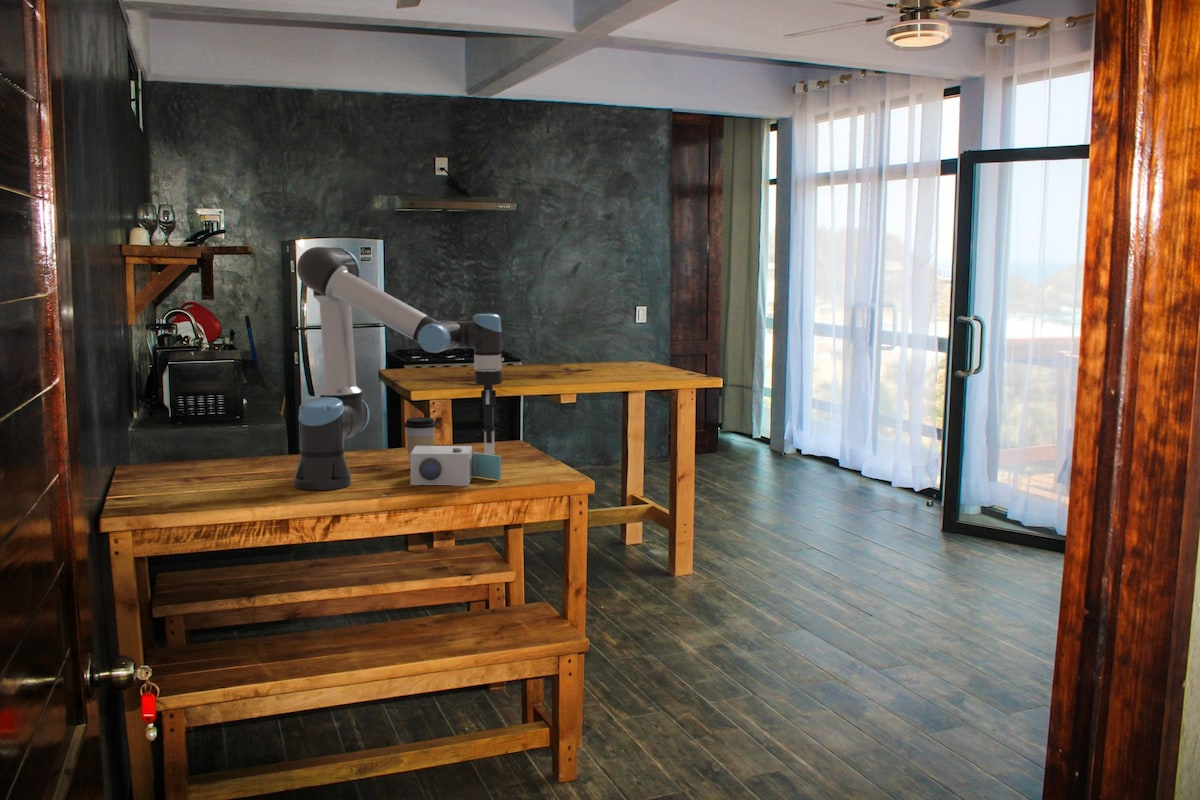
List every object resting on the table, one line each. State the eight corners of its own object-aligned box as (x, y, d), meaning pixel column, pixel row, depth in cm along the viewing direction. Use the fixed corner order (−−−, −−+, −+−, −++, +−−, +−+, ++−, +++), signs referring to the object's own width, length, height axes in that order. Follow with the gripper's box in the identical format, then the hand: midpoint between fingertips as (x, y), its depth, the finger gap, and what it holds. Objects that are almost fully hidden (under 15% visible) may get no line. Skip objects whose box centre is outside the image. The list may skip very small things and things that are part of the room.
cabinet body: (409, 486, 270) (409, 451, 268) (415, 476, 283) (415, 443, 281) (469, 487, 271) (469, 451, 269) (472, 476, 284) (472, 443, 282)
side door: (471, 476, 283) (471, 452, 282) (475, 475, 284) (475, 451, 283) (498, 481, 278) (498, 456, 277) (502, 479, 279) (502, 454, 278)
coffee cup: (429, 472, 288) (429, 422, 286) (399, 471, 290) (398, 420, 288) (441, 466, 297) (440, 417, 295) (411, 464, 299) (411, 416, 297)
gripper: (500, 372, 266) (502, 458, 269) (502, 367, 279) (503, 449, 282) (472, 372, 265) (474, 458, 269) (476, 367, 278) (477, 449, 281)
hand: (489, 453), depth 275 cm, fingers closed
